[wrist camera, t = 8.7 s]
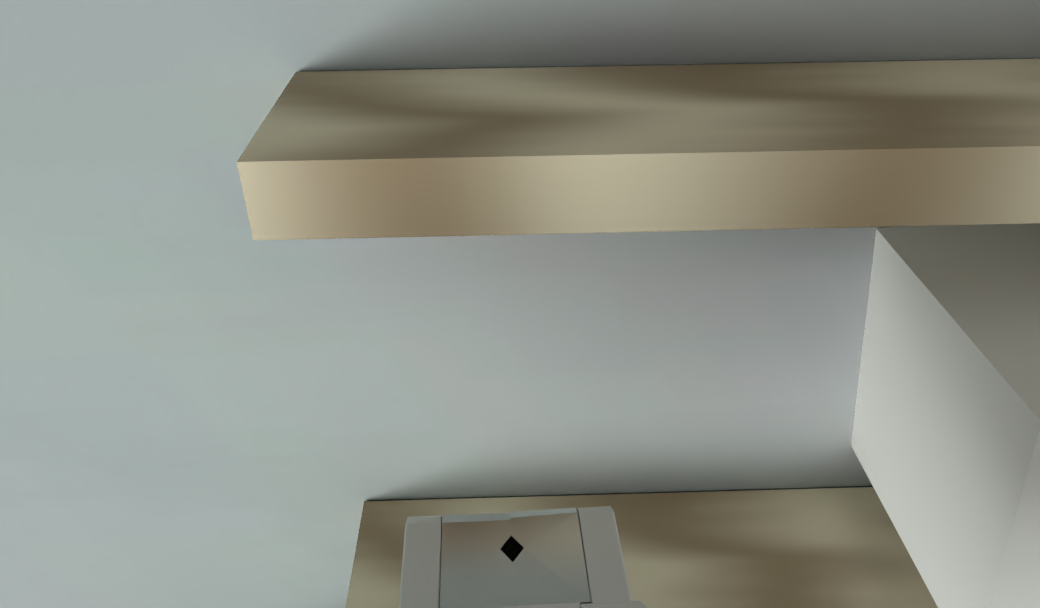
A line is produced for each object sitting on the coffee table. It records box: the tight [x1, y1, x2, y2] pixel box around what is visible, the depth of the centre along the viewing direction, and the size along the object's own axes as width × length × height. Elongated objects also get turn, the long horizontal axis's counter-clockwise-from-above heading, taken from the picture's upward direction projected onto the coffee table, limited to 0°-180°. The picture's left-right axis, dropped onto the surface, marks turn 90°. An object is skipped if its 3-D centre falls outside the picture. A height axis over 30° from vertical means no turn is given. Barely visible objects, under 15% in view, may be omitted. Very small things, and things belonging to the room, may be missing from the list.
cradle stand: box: [237, 59, 1040, 608], centre depth 16 cm, size 19×12×4 cm, turn 90°
